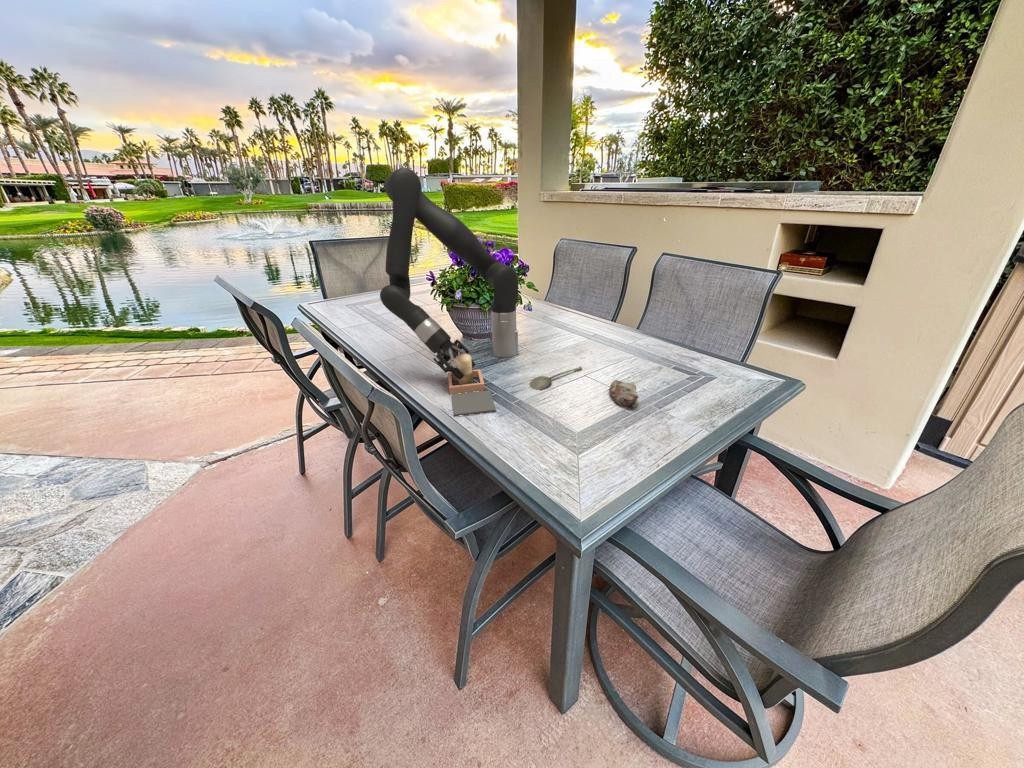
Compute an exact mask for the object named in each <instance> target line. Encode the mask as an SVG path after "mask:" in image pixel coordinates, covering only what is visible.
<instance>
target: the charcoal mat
mask: <svg viewBox="0 0 1024 768" xmlns="http://www.w3.org/2000/svg"><path fill="white" fill-rule="evenodd" d="M451 400H452V401H451V402H452V411H453V417H454V416H458V417H460V416H459V415H466V416H470V415H469V414H474V415H481V414H480V413H483V414H488V413H489V414H490V412H491V413H497V412H496V411H497V409H496V405H495V403H494V398H493V396H492V393H491V390H485V391H479V392H470V393H461V394H452V395H451Z"/></svg>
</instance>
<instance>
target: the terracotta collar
mask: <svg viewBox="0 0 1024 768" xmlns="http://www.w3.org/2000/svg"><path fill="white" fill-rule="evenodd" d="M472 373H473V377H478V378H479V379H478V378H477V379H478V382H477V383H476V382H475V383H474V382H473V384H465V385H459V384H458V385H457V384H456V385H453V382H452V381H458V380H457V379H458V378H457V377H456V376H455V375H454V374H453V373H452V372H447V379H448V388H449V395H450V394H458V393H465V392H473V391H482V390H485V391H486V388H485V387H486V386H485V382H484V378H483V375H482V371H481V369H480V368H479V369H472ZM479 382H480V383H479Z"/></svg>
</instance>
